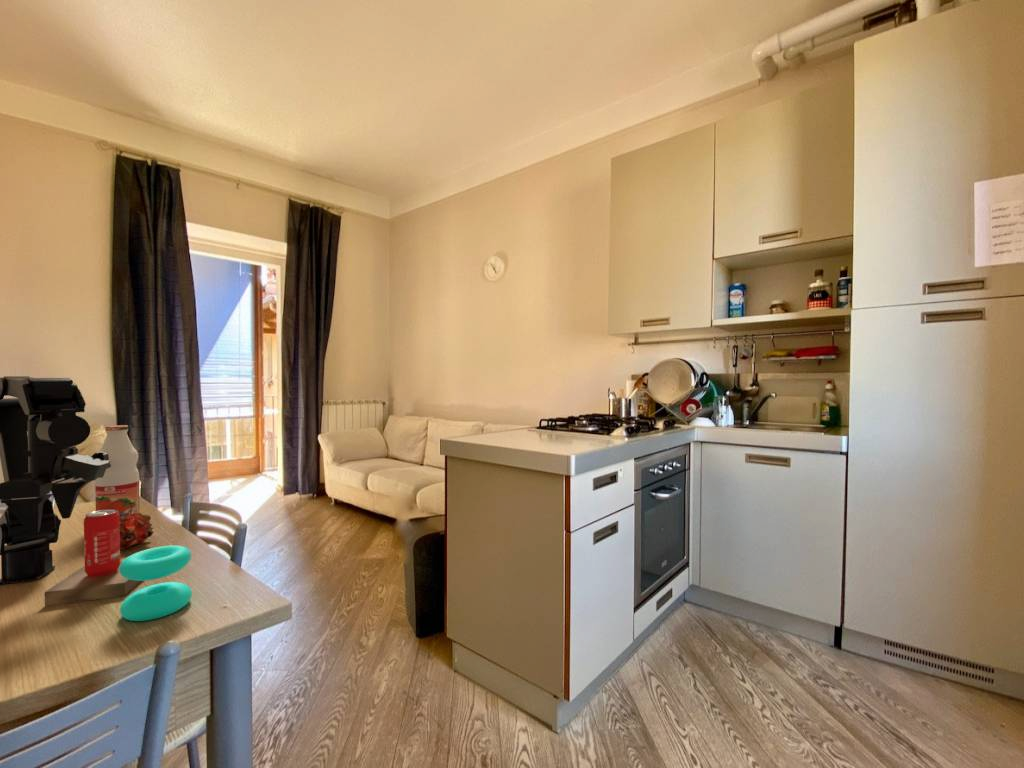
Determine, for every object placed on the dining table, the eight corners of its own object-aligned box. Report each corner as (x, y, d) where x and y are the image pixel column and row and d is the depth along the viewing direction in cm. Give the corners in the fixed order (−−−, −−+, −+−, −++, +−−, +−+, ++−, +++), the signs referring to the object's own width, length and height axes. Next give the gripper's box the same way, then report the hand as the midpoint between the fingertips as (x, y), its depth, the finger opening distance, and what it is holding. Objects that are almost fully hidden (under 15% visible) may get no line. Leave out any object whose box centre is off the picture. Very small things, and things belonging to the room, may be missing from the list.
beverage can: (100, 579, 88) (98, 517, 88) (77, 577, 89) (76, 515, 89) (127, 568, 93) (125, 509, 93) (105, 567, 94) (104, 508, 94)
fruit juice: (147, 519, 135) (145, 423, 134) (128, 529, 126) (126, 427, 125) (109, 521, 133) (107, 424, 132) (87, 532, 123) (85, 428, 123)
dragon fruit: (136, 543, 119) (133, 564, 110) (100, 530, 115) (93, 551, 105) (160, 514, 121) (158, 533, 112) (126, 500, 117) (121, 518, 107)
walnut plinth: (44, 605, 83) (44, 592, 83) (83, 578, 94) (83, 566, 94) (125, 595, 86) (125, 582, 86) (153, 570, 98) (153, 558, 98)
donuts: (183, 558, 79) (109, 568, 75) (184, 616, 79) (110, 630, 75) (196, 540, 88) (130, 548, 84) (197, 592, 88) (131, 602, 84)
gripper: (72, 448, 81) (74, 536, 81) (125, 436, 99) (126, 508, 99) (-10, 451, 78) (-8, 543, 78) (60, 438, 96) (61, 513, 96)
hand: (51, 525), depth 88 cm, fingers open, 9 cm apart
